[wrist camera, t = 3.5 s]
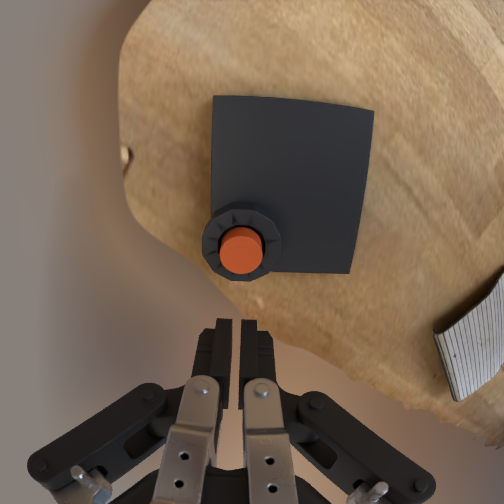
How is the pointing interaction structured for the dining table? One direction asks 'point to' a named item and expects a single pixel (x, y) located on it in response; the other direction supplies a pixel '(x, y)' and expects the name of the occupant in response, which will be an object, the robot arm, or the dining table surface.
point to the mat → (474, 344)
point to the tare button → (241, 250)
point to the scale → (288, 182)
